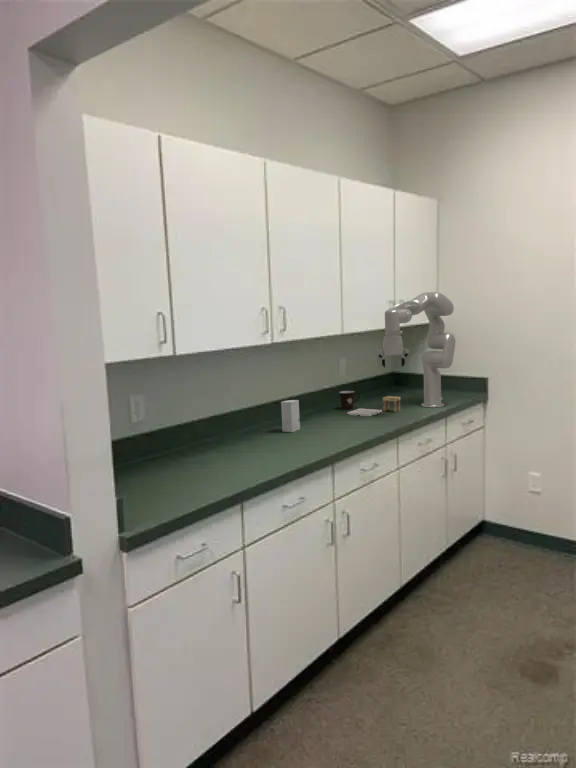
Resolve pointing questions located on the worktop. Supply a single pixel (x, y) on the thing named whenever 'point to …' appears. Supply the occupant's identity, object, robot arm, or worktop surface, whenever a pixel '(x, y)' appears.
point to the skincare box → (290, 415)
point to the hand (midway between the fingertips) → (393, 366)
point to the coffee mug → (347, 399)
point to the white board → (364, 412)
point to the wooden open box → (388, 399)
